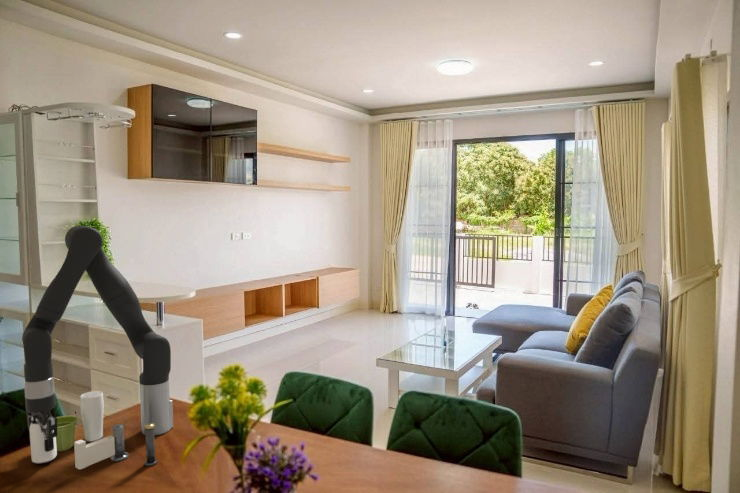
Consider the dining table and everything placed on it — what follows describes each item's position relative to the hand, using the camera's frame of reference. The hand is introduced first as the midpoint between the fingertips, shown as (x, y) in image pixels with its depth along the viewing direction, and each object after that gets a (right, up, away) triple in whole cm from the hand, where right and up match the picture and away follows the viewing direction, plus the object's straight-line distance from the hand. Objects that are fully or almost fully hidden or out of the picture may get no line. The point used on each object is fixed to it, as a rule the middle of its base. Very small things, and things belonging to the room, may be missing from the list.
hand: (43, 447), depth 156 cm
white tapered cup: (+6, -4, +16) cm, 18 cm away
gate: (+17, -3, -3) cm, 18 cm away
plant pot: (0, -4, +10) cm, 11 cm away
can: (0, -4, 0) cm, 4 cm away
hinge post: (+21, -4, +3) cm, 22 cm away
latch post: (+33, -4, -1) cm, 33 cm away
